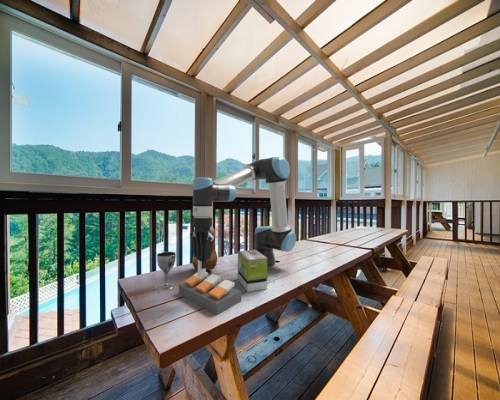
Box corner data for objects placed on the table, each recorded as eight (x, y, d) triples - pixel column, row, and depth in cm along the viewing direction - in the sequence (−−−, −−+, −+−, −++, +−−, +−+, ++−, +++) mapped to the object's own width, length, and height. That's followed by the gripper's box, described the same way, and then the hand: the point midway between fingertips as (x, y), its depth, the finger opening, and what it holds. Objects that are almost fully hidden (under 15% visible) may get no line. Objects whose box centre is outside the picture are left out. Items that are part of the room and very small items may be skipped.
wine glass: (155, 291, 90) (155, 256, 90) (158, 283, 98) (158, 252, 98) (174, 289, 93) (174, 255, 92) (175, 282, 100) (176, 251, 100)
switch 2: (226, 283, 86) (225, 279, 85) (235, 287, 82) (234, 282, 82) (209, 296, 79) (208, 292, 78) (218, 301, 76) (217, 296, 75)
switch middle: (213, 277, 90) (212, 273, 90) (221, 280, 87) (220, 276, 87) (197, 291, 84) (195, 287, 83) (204, 295, 81) (203, 290, 80)
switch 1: (201, 273, 96) (200, 269, 95) (208, 276, 92) (208, 272, 92) (185, 284, 89) (184, 280, 88) (192, 288, 86) (191, 284, 85)
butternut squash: (188, 275, 109) (188, 227, 109) (196, 266, 123) (197, 224, 122) (213, 276, 108) (214, 228, 108) (219, 267, 121) (220, 225, 121)
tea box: (236, 279, 105) (237, 250, 105) (255, 277, 109) (255, 248, 108) (246, 292, 91) (247, 259, 91) (267, 289, 94) (268, 257, 94)
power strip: (216, 278, 105) (216, 271, 105) (254, 293, 90) (254, 284, 90) (178, 294, 88) (178, 284, 88) (216, 315, 73) (217, 304, 73)
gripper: (184, 216, 83) (183, 274, 84) (205, 218, 75) (204, 283, 75) (199, 215, 89) (199, 269, 89) (220, 217, 81) (219, 277, 81)
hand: (201, 275), depth 82 cm, fingers closed
